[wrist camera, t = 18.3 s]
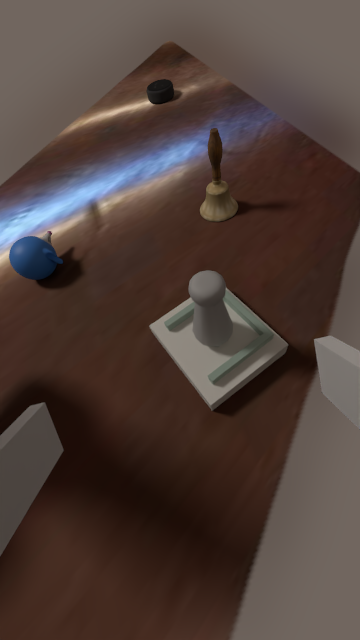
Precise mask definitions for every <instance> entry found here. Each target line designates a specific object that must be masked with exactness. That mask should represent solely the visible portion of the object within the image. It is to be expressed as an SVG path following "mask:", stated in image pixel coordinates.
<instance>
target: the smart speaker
mask: <svg viewBox="0 0 360 640" xmlns="http://www.w3.org/2000/svg"><path fill="white" fill-rule="evenodd" d="M147 95H148V99H149V101H150V102H151V103H154V104H160V103H164V102H167V101H169V100H170V99H171V98H172V97H173V95H174V89H173V84H172V82H171V81H170V80H166V79H163V80H158V81H155V82H153V83H151V84H150V85H149V86H148V87H147Z"/></svg>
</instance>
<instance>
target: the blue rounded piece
mask: <svg viewBox="0 0 360 640" xmlns="http://www.w3.org/2000/svg"><path fill="white" fill-rule="evenodd" d="M51 235H52V233H51V231H48V232H47V234H46V235H45V236H43V237H42V238H38V237H34V236H28V237H24V238H21V239H19V240H18V241H16V242H15V243H14V244H13V246H12V247H11V250H10V254H9V258H10V263H11V265H12V267H13V268H14V270H15V271H16V272H17V273H19V274H20V275H22V276H23V277H26V278H28V279H33V280H40V279H44V278H46V277H48V276H49V275H51V274H52V273H53V272H54V270H55V268H56V266H57V263H58V264H63V260H62V259H60V258H59V257H57V255H56V252H55V250H54V248H53V247H52V245H51Z"/></svg>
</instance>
